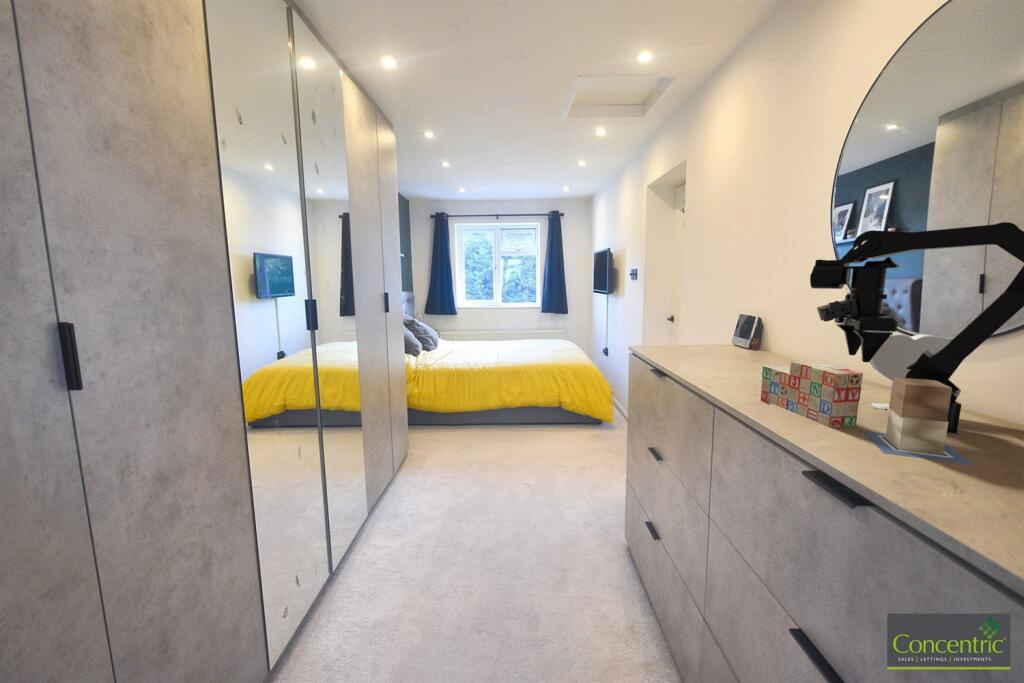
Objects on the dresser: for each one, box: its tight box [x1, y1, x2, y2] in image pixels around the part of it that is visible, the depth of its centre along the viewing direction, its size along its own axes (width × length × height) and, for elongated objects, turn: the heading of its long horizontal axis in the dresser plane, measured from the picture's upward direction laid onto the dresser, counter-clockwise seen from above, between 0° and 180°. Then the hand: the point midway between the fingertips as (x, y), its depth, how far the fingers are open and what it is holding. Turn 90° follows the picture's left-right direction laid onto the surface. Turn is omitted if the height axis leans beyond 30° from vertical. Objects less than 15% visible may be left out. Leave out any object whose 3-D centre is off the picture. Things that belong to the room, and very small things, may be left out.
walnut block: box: [888, 377, 952, 422], centre depth 75 cm, size 6×6×6 cm
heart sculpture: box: [869, 332, 952, 409], centre depth 99 cm, size 16×5×18 cm, turn 67°
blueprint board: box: [860, 430, 977, 466], centre depth 77 cm, size 12×12×1 cm
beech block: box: [885, 409, 948, 455], centre depth 76 cm, size 6×6×6 cm
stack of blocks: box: [760, 360, 864, 428], centre depth 96 cm, size 21×6×12 cm, turn 5°
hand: (858, 358), depth 95 cm, fingers open, 9 cm apart
